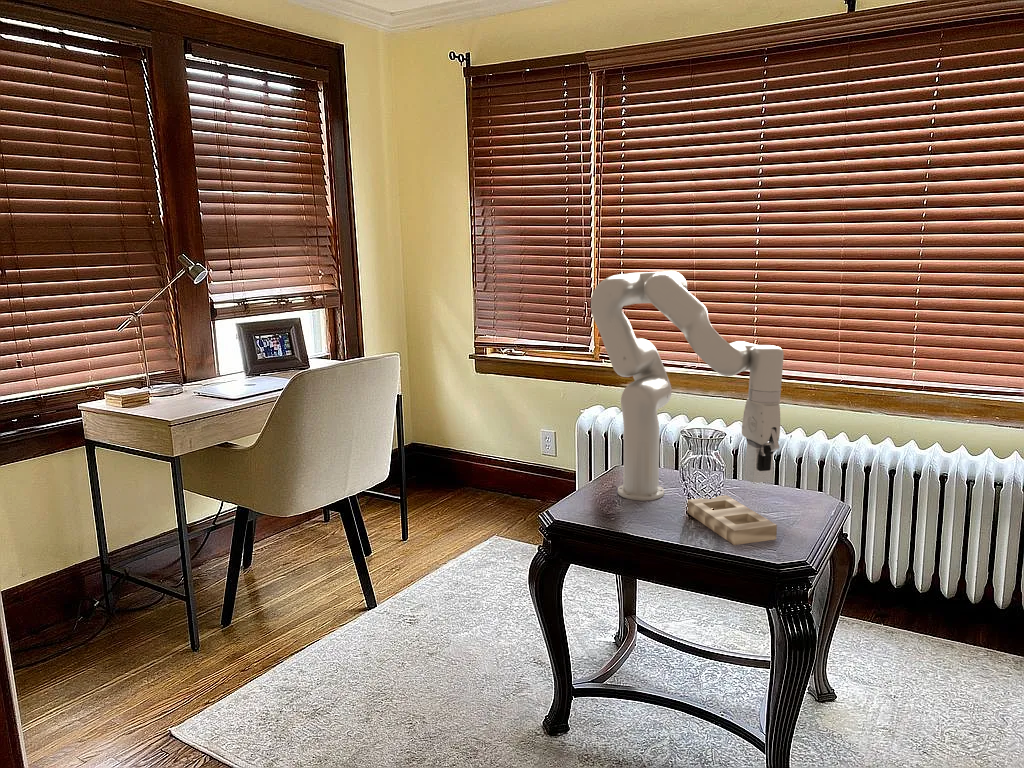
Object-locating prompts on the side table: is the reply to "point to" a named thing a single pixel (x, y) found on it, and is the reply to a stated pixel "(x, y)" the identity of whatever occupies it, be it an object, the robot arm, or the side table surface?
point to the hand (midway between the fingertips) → (758, 466)
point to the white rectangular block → (755, 464)
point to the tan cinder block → (732, 520)
